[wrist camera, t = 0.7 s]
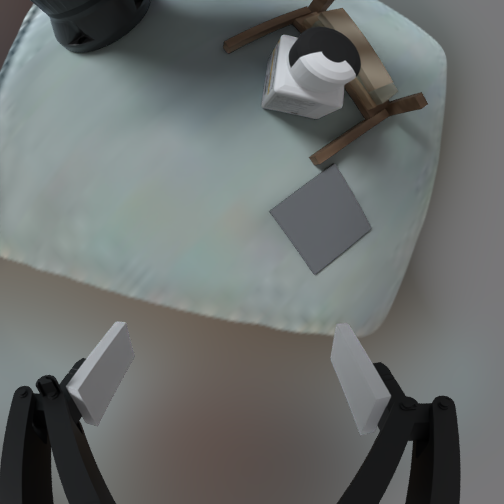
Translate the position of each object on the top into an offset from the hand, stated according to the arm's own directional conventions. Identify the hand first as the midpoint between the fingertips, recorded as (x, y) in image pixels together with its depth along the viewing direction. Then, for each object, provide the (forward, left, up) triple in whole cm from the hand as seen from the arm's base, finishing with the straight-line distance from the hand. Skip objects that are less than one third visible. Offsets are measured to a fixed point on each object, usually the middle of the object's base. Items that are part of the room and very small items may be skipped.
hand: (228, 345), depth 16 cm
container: (-12, +21, -21) cm, 32 cm away
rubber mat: (+5, +14, -20) cm, 25 cm away
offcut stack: (-12, +31, -19) cm, 38 cm away
